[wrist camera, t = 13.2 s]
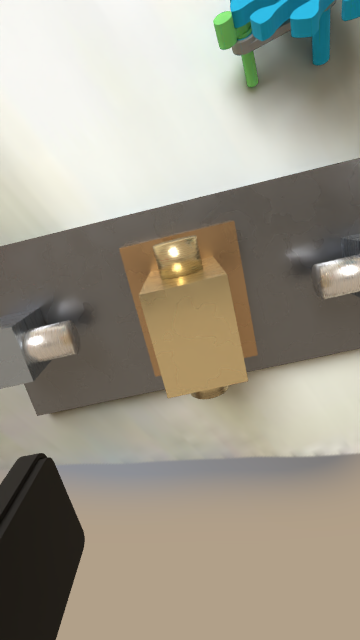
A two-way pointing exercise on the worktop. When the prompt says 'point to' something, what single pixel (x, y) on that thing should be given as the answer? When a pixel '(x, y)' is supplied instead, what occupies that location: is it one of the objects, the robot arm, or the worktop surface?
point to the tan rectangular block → (192, 321)
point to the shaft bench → (267, 269)
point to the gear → (277, 26)
